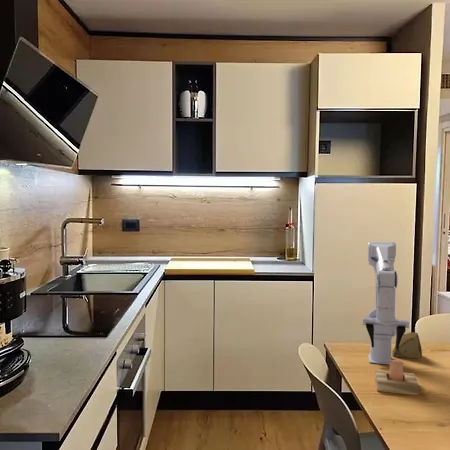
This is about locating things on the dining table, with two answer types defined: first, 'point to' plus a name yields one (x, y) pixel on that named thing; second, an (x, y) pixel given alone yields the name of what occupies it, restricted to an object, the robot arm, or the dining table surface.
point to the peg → (396, 370)
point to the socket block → (396, 383)
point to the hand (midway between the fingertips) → (384, 347)
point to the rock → (409, 346)
